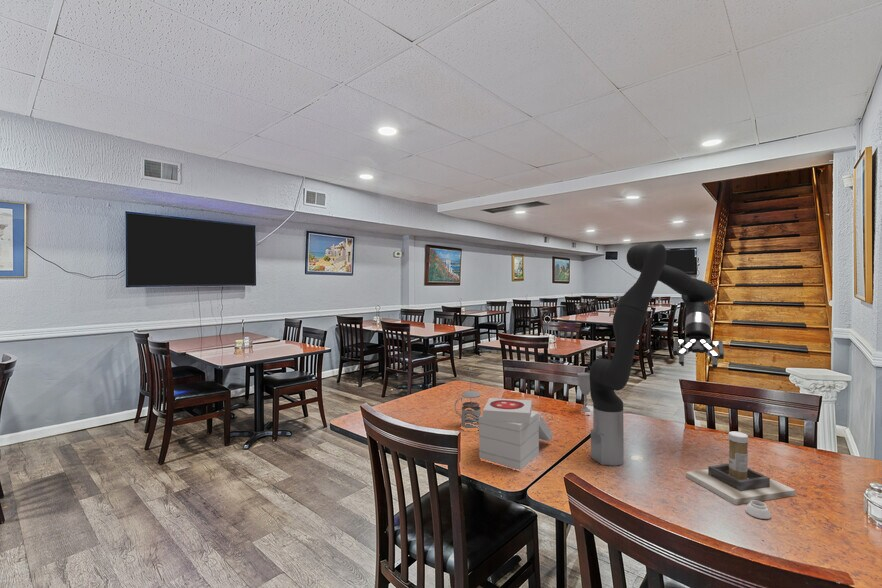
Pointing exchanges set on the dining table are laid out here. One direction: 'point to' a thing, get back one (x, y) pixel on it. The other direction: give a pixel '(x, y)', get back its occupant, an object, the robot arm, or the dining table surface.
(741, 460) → the sprinkles bottle
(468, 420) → the french press
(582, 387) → the chalice
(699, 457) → the dining table surface
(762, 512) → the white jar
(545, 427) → the stack of boxes
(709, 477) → the condiment holder
